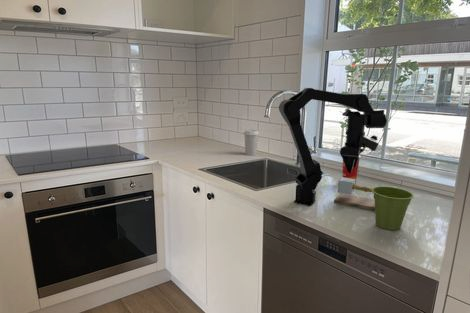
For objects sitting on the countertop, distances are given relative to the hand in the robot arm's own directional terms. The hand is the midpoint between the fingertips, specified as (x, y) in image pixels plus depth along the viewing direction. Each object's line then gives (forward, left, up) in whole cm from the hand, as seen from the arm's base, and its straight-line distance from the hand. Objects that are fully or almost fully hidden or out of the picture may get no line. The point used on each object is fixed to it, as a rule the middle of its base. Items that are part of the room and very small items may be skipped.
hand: (351, 169), depth 124 cm
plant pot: (+16, -17, -12) cm, 26 cm away
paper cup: (-6, +23, -12) cm, 27 cm away
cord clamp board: (+4, -1, -12) cm, 13 cm away
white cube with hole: (-1, -1, -9) cm, 9 cm away
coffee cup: (-73, +52, -12) cm, 90 cm away
